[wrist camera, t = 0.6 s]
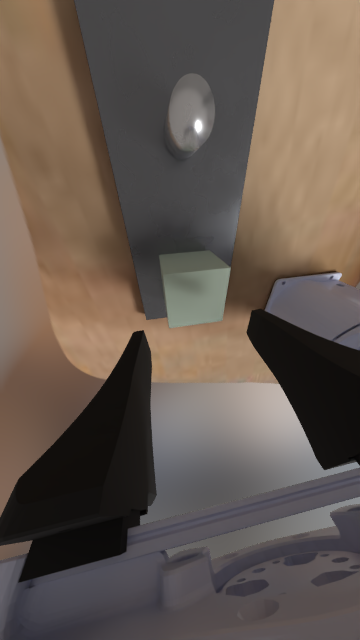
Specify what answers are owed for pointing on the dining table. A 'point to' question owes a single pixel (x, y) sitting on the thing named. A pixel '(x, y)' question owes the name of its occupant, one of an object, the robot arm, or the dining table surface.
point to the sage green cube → (194, 287)
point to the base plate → (138, 110)
